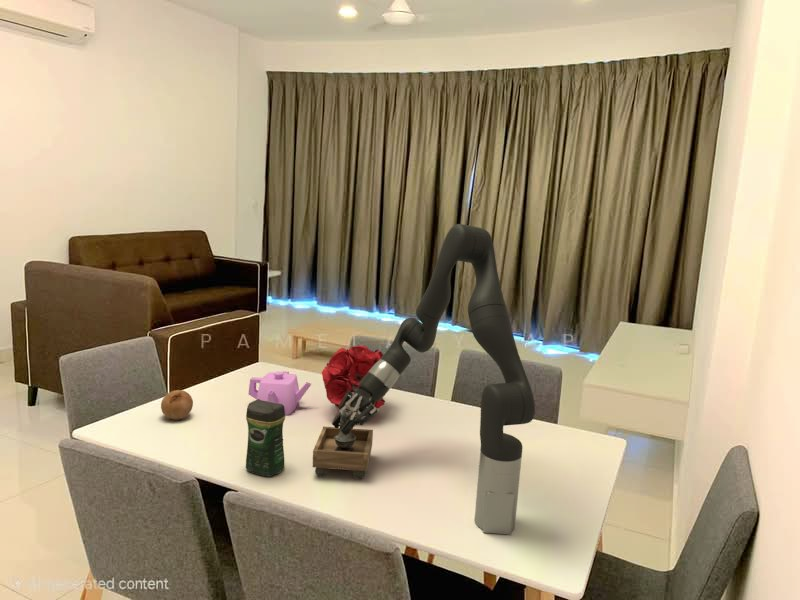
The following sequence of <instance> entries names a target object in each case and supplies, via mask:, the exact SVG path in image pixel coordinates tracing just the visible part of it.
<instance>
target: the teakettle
mask: <svg viewBox="0 0 800 600" xmlns="http://www.w3.org/2000/svg"><path fill="white" fill-rule="evenodd" d="M257 384H259V385H258V388H257ZM248 386H249V387H248V396H250V397H252V398H254V400H257V399H260V400H262V401H267V402H273V403H277V404H283V405H284V408H285V416H290V415H292V413H293V412H295V410H296V409H297V407H298V404H299V402H300V401H301V399H302V397H303V396H304V395H305V394H306V393H307V391H308V390H309V388H310V387H311V386H312V383H311V382H305V384H304V385H303V386H301V387H300V388H299V382H298V376H297V374H296V373H290V371H284V370H283V371H275V372H268V373H267V374H264V376H263V377H251V378H250V379H249V385H248Z"/></svg>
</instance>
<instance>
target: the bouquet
mask: <svg viewBox="0 0 800 600" xmlns="http://www.w3.org/2000/svg"><path fill="white" fill-rule="evenodd" d="M383 355H384V353H383V352H382V351H380V350H379V349H376V350H375V351H374V350H373V351H372V350H371V349H369V347H368V346H366V345H356V346H351V347H350V348H345V347H341V348H339V349H338V350H336V352H335V353H334V354H333V355H332V357H330V359H329V361H328V362H327V363H326V366H325V367H324V369H322V371H321V376H322V381H323V384H324V389H325V393H326V399H327V400H328V401H329V403H331V404H333V405H334V406H335V407H336V408H337V409H338V410H339V408H338V406H339V404H340V403H341V401H342V399H343V397H344V396H345V394H346V392H347V391H348V390H350V391H351V392H355V391H357V390H358V389H359V387H360V386H359V382H360V381H361V380H362V379H363V378H364V376H365V375H366V374H367V373H368V372H369V370H370V369H371V368H372V367H373V366H374V365H375V364H376V363H377V362H378V361H379V360H380V359H381V357H382V356H383ZM385 403H386V401H385V399H384V397H383V398H382V399H381V401H376V402H375V404H374V407H375V408H376V409H377V410H379V409H380V408H381V407H382V406H385ZM344 406H345V404H344V405H343V407H344ZM350 406H351V404H350ZM351 407H352V406H351ZM348 410H349V409H348ZM352 414H353V413H351V416H352Z"/></svg>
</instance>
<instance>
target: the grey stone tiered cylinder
mask: <svg viewBox="0 0 800 600" xmlns="http://www.w3.org/2000/svg"><path fill="white" fill-rule="evenodd" d="M351 416H352V415H351V412H350V411H348V410H347V407H346V408H345V410H344V411H342V412H341V418H340V423H339V425H340V426H339V428H340V430H341V428H342V427H343V426H344V424H345V423H346V422H347V421H348V420H350V418H351ZM334 439H335V442H336V444H337V445H338V447H336V448H335V451H347V452H354V448H353V447H351V446H352V445H353V444H354V442H355V439H356V436H355V435H353V434H351V431H350V432H349V433H348V434H347V435H344V434H343V433H342V432H341V431H340V432H339V434H337V435H335V436H334Z"/></svg>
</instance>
